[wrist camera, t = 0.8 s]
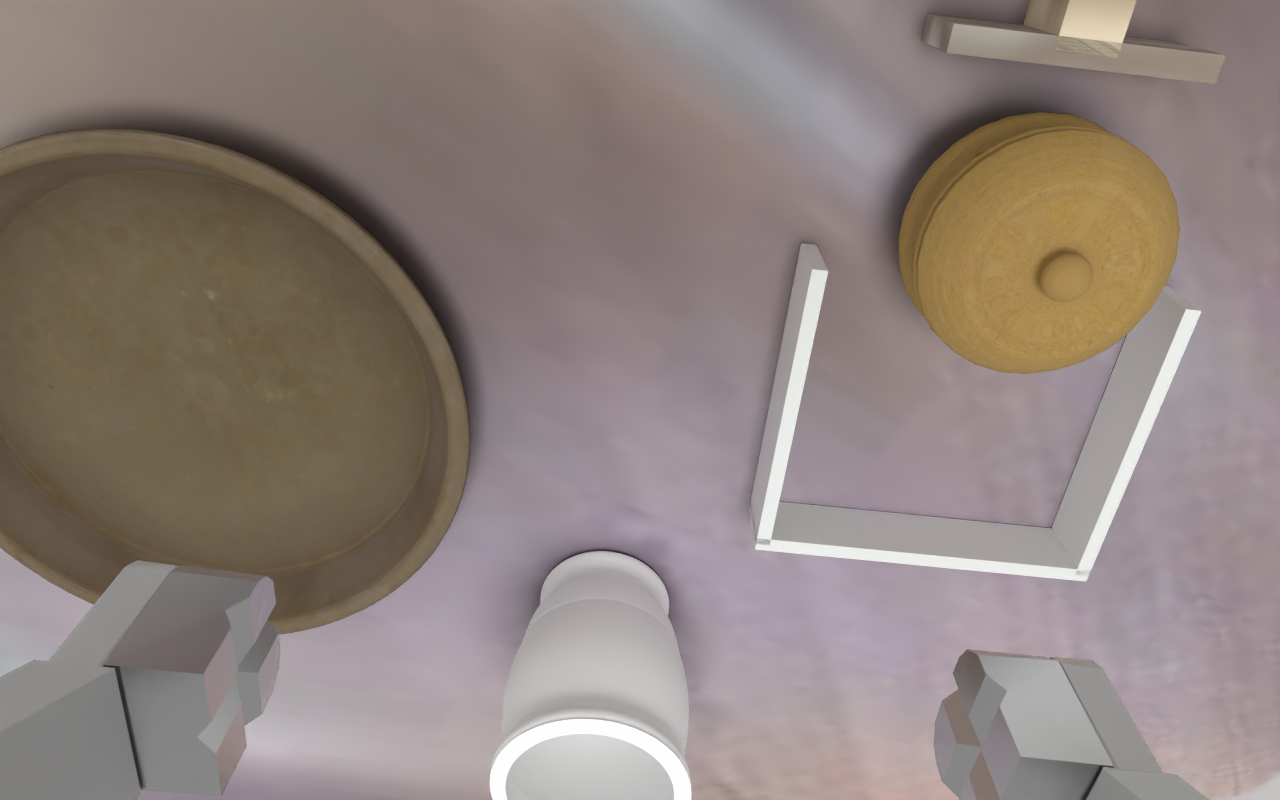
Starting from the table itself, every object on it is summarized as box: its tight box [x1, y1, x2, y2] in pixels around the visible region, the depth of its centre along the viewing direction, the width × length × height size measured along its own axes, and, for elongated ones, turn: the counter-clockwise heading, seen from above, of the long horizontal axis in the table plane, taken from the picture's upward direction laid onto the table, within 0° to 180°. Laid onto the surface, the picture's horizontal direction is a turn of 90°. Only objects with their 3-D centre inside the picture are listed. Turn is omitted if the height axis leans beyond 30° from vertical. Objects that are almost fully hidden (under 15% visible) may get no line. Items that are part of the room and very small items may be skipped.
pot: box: [899, 112, 1180, 374], centre depth 43 cm, size 12×12×10 cm
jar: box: [490, 551, 691, 800], centre depth 54 cm, size 11×10×15 cm
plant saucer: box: [0, 129, 470, 634], centre depth 52 cm, size 31×31×5 cm
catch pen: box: [749, 243, 1201, 581], centre depth 51 cm, size 17×20×4 cm
